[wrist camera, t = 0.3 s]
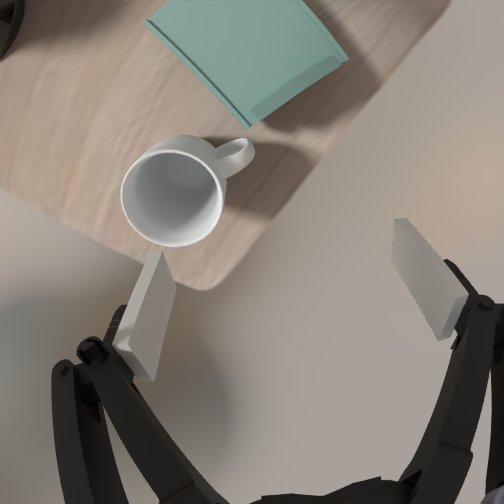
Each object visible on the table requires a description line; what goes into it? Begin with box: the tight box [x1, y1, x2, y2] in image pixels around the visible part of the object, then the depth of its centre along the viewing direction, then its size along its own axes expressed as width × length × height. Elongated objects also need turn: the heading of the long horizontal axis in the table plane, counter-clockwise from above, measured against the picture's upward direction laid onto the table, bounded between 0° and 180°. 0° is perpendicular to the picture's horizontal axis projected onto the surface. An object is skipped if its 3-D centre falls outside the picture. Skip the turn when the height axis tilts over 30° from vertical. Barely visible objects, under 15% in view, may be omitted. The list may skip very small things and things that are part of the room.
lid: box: [142, 0, 349, 130], centre depth 25 cm, size 18×15×5 cm
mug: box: [121, 135, 255, 247], centre depth 33 cm, size 15×11×13 cm
